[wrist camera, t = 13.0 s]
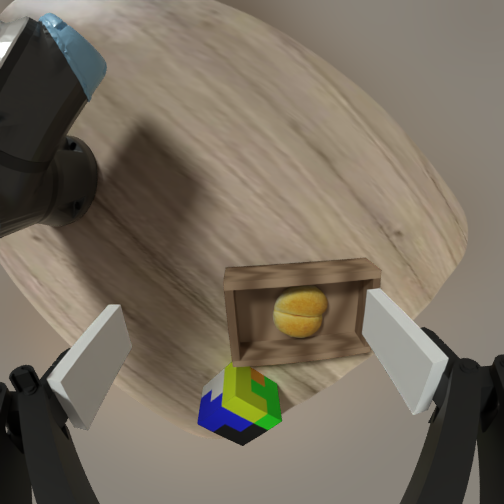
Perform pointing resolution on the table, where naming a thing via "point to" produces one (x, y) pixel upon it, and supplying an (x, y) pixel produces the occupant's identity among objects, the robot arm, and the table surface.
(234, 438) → the puzzle toy
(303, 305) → the bread roll
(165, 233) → the table surface
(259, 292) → the wooden box
